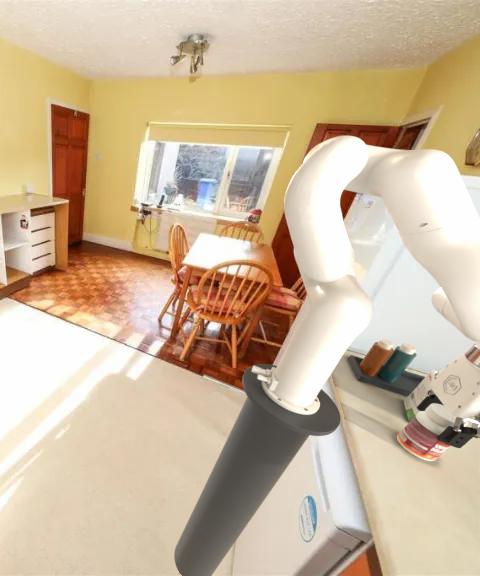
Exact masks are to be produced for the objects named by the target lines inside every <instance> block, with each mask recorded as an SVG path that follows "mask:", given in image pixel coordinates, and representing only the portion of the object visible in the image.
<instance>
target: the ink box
mask: <svg viewBox="0 0 480 576" xmlns="http://www.w3.org/2000/svg"><path fill="white" fill-rule="evenodd" d="M439 372H440V371H438V370H436V369H431V370H430V371H429V372H428V373H427V375H425V376H424V377H425V378H424V379H423V380H422V382H421V383H420V384H419V385H418V386H417V387H416V388H415V389H414V391H413V392H412V393H411V394H410V395H409V396H406V398H405V399H404V400H403V405H404V410H405V413H406V417H407V421H408V423H409V422H410V421H411V420H412V419H413V418H414V417H415V415H416V414H417V413H418V412H421V411H419V410H418V409H417V406H418V405H419V404H420V403H421V402H422V401H423V400H424V399H425V397H426V396H428V394H427V392H428V391H429V390H431V387H430V382H431V381H432V379H433V378H434V377H435V374H436V373H439Z"/></svg>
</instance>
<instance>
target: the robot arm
mask: <svg viewBox="0 0 480 576" xmlns="http://www.w3.org/2000/svg"><path fill="white" fill-rule="evenodd" d="M344 191H349V192H353V193H357V194H362V195H369V196H375V197H378V198H382V200H383V202H384V204H385V205H384V206H385V207H386V209H387V211H388V213H389V215H390V216H391V219H392V221H393V223H394V225H395V227H396V229H397V231H398V234H399V236H400V238H401V240H402V243H403V245H404V246H405V248H406V251H408V252H409V254H410V255H411V256H412V258H413V259H414V260H415V262H417V263H418V264H419V265H420V266H421V267H422V268H423V269H425V270H426V271H427V272H428V274H430V276H431V277H432V278H433V279H434V281H436V283H437V284H438V286H439V287H438V288H437V289H436V290H435V291H434V292H433V294H432V296H431V304H432V306H433V308H434V309H435V311H436V312H437V313H438V314H440V315H441V316H442V318H444V319H445V320H446V321H447V322H448V323H450V324H451V325H452V326H453V327H455V329H457V331H459V332H460V333H461V334H462V335H464V337H466V338H468V339H469V340H471V341H473V342H475V343H474V344H473V345H472V346H471V347H470V348H469V350H467V351H466V352H463V353H462V354H460V355H458V356H456V358H454V359H453V360H451V361H450V362H449V363H448V364H447V365H445V366H444V367H443V368H442V369H441V370H440V371H438V372H439V373H436V374H435V377H434V378H433V379H432V381H431V382H430V387H431V390H429V391H428V392H427V394H428V396H426V397H425V399H424V400H423V401H422V402H421V403H420V404H419V405H418V406H417V409H418V410H419V411H425V409H426V408H427V407H428V406H429V405H430V404H432V403H436V404H441V405H444V406H445V407H446V408H447V410H448V411H449V412H450V413H451V414H452V415H453V416H455V417H456V420H455V423H454V426H453V427H452V426H448V427H447V428H446V429H445V430H444V431H443V432H442V433H441V434H440V435H439V436H438V437H437V439H438V441H439V442H442V443H445V444H448V445H450V447H453V448H456V449H461V448H462V447H464V446H465V445H466V444H467V443H468V442H469V441H471V440H472V439H473V438H474V439H480V216H479V213H478V211H477V209H476V207H475V205H474V202H473V200H472V198H471V196H470V193H469V192H468V189H467V186H466V184H465V182H464V180H463V177H462V175H461V173H460V170H459V168H458V167H457V165H456V163H455V161H454V160H453V158H452V157H451V156H450V155H449V154H448V153H446V152H445V151H442V150H439V149H435V148H420V149H418V148H417V149H399V148H389V147H383V146H376V145H370V144H366V143H365V141H364V140H362V139H361V138H360V137H357V136H353V135H337V136H334V137H331V138H328V139H325V140H324V141H322V142H320V143H318V144H316V145H315V146H313V148H311V149H310V150H309V152H308V153H307V154H306V155H305V157H304V159H303V161H302V163H301V165H299V167H298V168H297V170H296V171H295V172H294V174H293V175H292V177H291V178H290V181H289V183H288V186H287V188H286V190H285V194H284V199H283V210H284V217H285V220H286V224H287V227H288V232H289V235H290V239H291V241H292V244H293V256H294V260H295V262H296V265H297V268H298V270H299V274H300V277H301V280H302V283H303V286H304V289H305V293H306V295H307V299H308V303H309V307H308V310H307V312H306V314H305V315H304V316H303V318H302V319H301V321H300V322H299V323H298V325H297V326H296V328H295V330H294V332H293V334H292V336H291V338H290V340H289V342H288V344H287V346H286V348H285V350H284V352H283V354H282V356H281V358H280V359H279V362H278V364H277V365H276V366H277V367H276V368H275V367H272V369H271V370H269V369H266V370H265V369H262V368H260V367H257V366H253V365H252V366H253V367H252V372H253V373H255V374H258V375H257V379H258V380H261V381H262V387H263V389H264V391H265V393H266V394H267V395H268V396H269V397H270V398H271V399H272V400H273V401H274V402H276V403H277V404H278V405H280V406H281V407H283V408H285V409H287V410H289V411H292V412H294V413H298V414H303V415H311V414H314V413H316V412H317V410H318V409H319V407H320V402H319V399H318V397H317V395H318V393H319V392H320V390H321V389H322V390H323V387H324V386H325V384H326V383H327V381H328V379H329V378H330V376H331V375H332V374H333V372H334V370H335V369H336V367H337V365H338V364H339V363H340V361H341V360H342V357H343V356H344V354H345V353H346V351H347V350H348V348H349V347H350V346H351V344H352V343H353V342H354V341H355V340H356V338H357V337H358V336H359V335H360V334H362V333H363V332H364V330H365V329H366V328H367V327H368V326H369V325H370V323H371V322H372V319H373V317H374V305H373V301H372V299H371V298H370V296H369V295H368V293H367V292H366V291H365V289H364V288H363V287H362V286H361V285H360V283H359V281H358V279H357V276H356V274H355V270H354V265H355V262H356V254H355V253H356V252H355V250H354V247H353V245H352V243H351V240H350V238H349V235H348V231H347V228H346V225H345V221H344V217H343V212H342V208H341V196H342V194H343V192H344ZM466 420H467V421H468V422H470V423H471V426H466V427H464V424H465V421H466Z"/></svg>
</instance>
